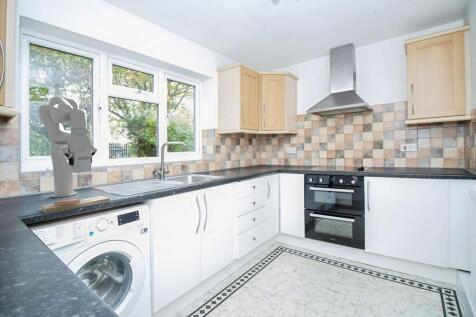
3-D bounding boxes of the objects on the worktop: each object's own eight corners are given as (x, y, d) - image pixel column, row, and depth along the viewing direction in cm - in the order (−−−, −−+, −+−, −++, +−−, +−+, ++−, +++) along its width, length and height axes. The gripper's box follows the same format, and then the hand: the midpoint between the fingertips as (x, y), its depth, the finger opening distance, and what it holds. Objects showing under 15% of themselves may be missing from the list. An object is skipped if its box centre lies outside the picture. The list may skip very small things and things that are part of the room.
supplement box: (77, 173, 121) (75, 148, 120) (70, 172, 125) (68, 149, 124) (92, 171, 127) (90, 148, 127) (85, 171, 131) (83, 148, 130)
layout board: (41, 209, 109) (40, 203, 109) (101, 199, 129) (101, 194, 128) (46, 213, 102) (46, 206, 102) (109, 202, 121) (109, 196, 121)
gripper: (94, 133, 134) (96, 163, 135) (57, 132, 121) (59, 165, 121) (99, 132, 129) (101, 163, 130) (61, 131, 116) (63, 166, 117)
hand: (80, 164), depth 126 cm, fingers closed on supplement box, 8 cm apart
